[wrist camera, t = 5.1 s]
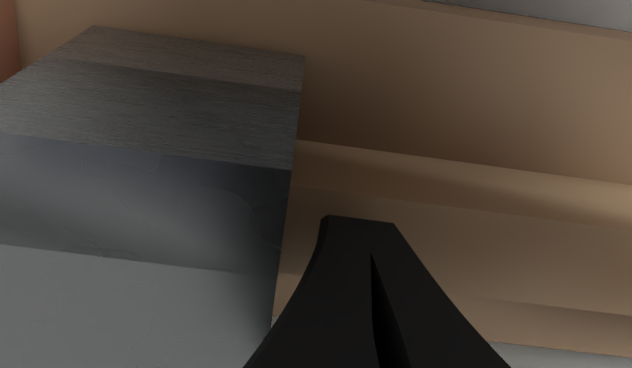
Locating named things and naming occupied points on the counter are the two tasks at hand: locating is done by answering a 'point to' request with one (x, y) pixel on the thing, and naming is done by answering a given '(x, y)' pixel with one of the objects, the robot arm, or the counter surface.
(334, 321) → the robot arm
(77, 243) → the keeper
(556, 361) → the counter surface
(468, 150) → the rail board
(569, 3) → the counter surface
